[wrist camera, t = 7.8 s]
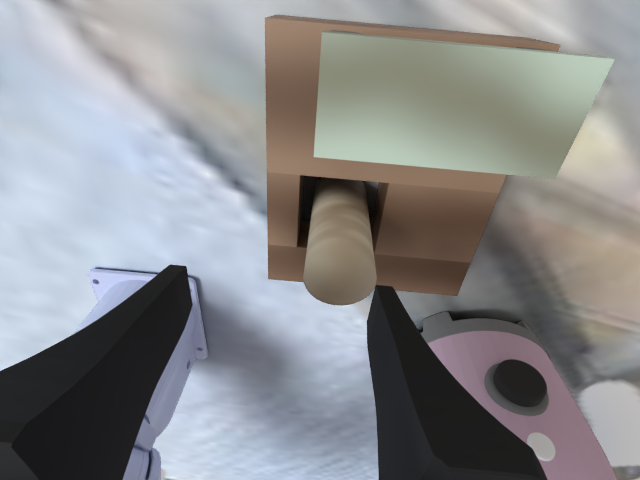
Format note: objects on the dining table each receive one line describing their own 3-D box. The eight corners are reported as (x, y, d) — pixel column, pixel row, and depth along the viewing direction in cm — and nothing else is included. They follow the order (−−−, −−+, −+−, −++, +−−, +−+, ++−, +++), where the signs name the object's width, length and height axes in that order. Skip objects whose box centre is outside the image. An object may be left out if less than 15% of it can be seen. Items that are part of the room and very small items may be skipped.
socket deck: (445, 265, 25) (478, 350, 19) (275, 250, 25) (254, 330, 19) (527, 37, 17) (631, 60, 11) (276, 14, 17) (240, 24, 11)
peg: (371, 176, 21) (386, 257, 14) (358, 220, 23) (365, 310, 16) (320, 165, 21) (310, 243, 14) (310, 210, 23) (297, 298, 16)
